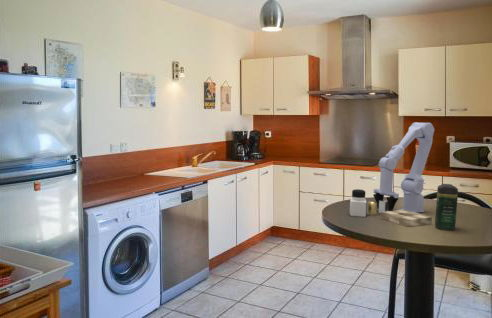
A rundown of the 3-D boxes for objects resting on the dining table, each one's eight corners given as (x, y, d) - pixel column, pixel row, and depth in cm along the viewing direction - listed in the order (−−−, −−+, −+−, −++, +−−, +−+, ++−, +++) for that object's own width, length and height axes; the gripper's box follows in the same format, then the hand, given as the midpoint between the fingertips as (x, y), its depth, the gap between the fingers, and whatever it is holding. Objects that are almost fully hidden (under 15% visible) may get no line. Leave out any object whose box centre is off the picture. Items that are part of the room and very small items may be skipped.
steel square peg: (384, 212, 216) (385, 199, 215) (390, 213, 212) (391, 201, 211) (378, 212, 214) (379, 200, 213) (384, 214, 210) (385, 202, 210)
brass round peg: (372, 213, 212) (372, 201, 211) (378, 215, 208) (378, 202, 208) (365, 214, 210) (366, 201, 210) (371, 215, 207) (372, 203, 206)
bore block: (403, 215, 208) (403, 209, 207) (431, 223, 193) (431, 217, 193) (381, 218, 201) (381, 212, 201) (408, 226, 187) (408, 219, 187)
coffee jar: (456, 231, 181) (459, 186, 179) (435, 229, 184) (438, 185, 182) (453, 225, 190) (456, 183, 188) (434, 224, 193) (436, 182, 191)
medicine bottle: (366, 217, 204) (367, 191, 202) (350, 216, 205) (351, 190, 204) (365, 213, 211) (366, 188, 209) (349, 212, 212) (350, 188, 211)
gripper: (369, 180, 216) (368, 207, 217) (391, 185, 203) (389, 214, 204) (380, 179, 219) (378, 206, 220) (402, 184, 206) (400, 212, 208)
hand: (384, 210), depth 213 cm, fingers open, 7 cm apart
